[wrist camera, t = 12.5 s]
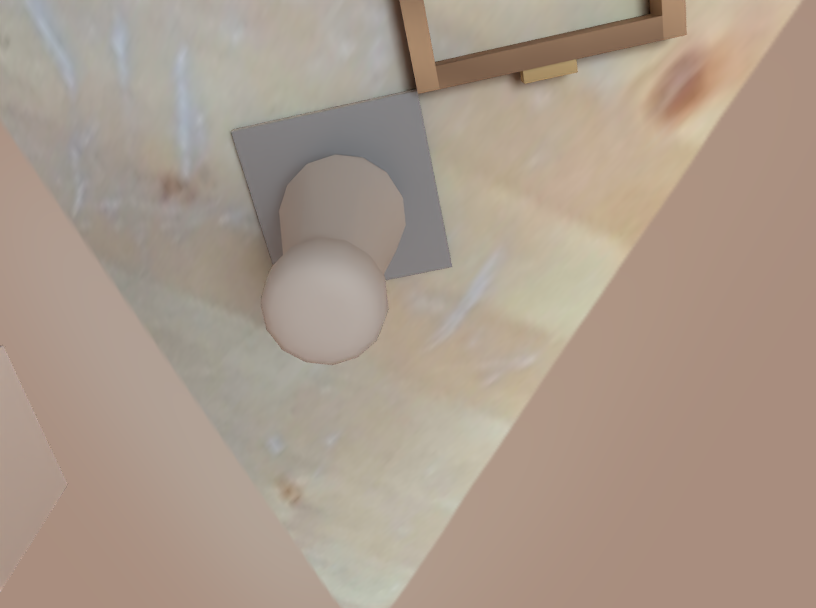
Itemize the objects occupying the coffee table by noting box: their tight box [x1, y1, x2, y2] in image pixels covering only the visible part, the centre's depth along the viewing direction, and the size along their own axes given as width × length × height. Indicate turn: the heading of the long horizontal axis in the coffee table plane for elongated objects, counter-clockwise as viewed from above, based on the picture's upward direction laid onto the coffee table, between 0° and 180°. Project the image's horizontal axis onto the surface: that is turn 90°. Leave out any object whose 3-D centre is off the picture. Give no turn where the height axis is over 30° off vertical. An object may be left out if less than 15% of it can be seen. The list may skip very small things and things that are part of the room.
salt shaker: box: [261, 154, 406, 365], centre depth 29 cm, size 6×6×13 cm
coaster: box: [231, 89, 452, 280], centre depth 35 cm, size 9×9×1 cm
